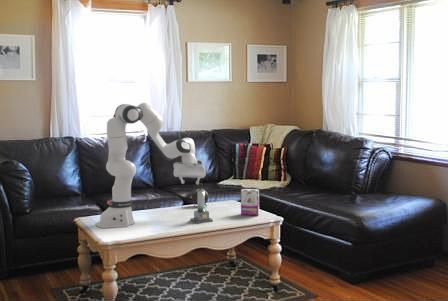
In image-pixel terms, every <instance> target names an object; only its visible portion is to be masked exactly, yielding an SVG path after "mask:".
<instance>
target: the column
mask: <svg viewBox="0 0 448 301" xmlns="http://www.w3.org/2000/svg"><path fill="white" fill-rule="evenodd" d="M205 204H206V203H205V192H204V191H198V205H197V210H198V212H205V210H206V205H205Z"/></svg>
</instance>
